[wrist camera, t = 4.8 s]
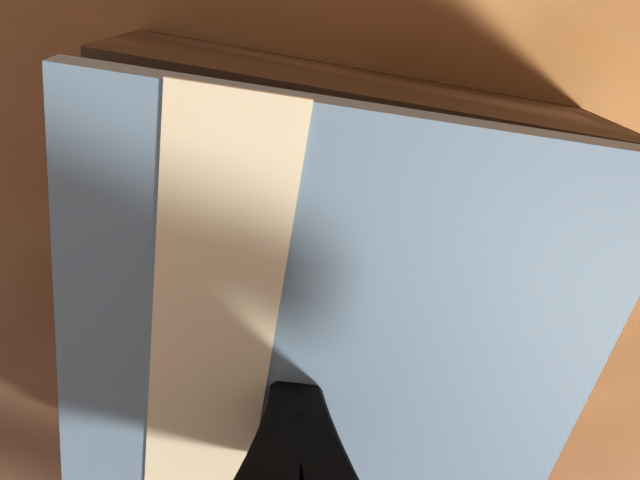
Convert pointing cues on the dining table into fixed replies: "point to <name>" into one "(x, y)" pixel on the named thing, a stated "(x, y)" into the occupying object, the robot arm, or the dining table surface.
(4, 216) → the dining table surface
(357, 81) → the box
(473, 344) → the lid
